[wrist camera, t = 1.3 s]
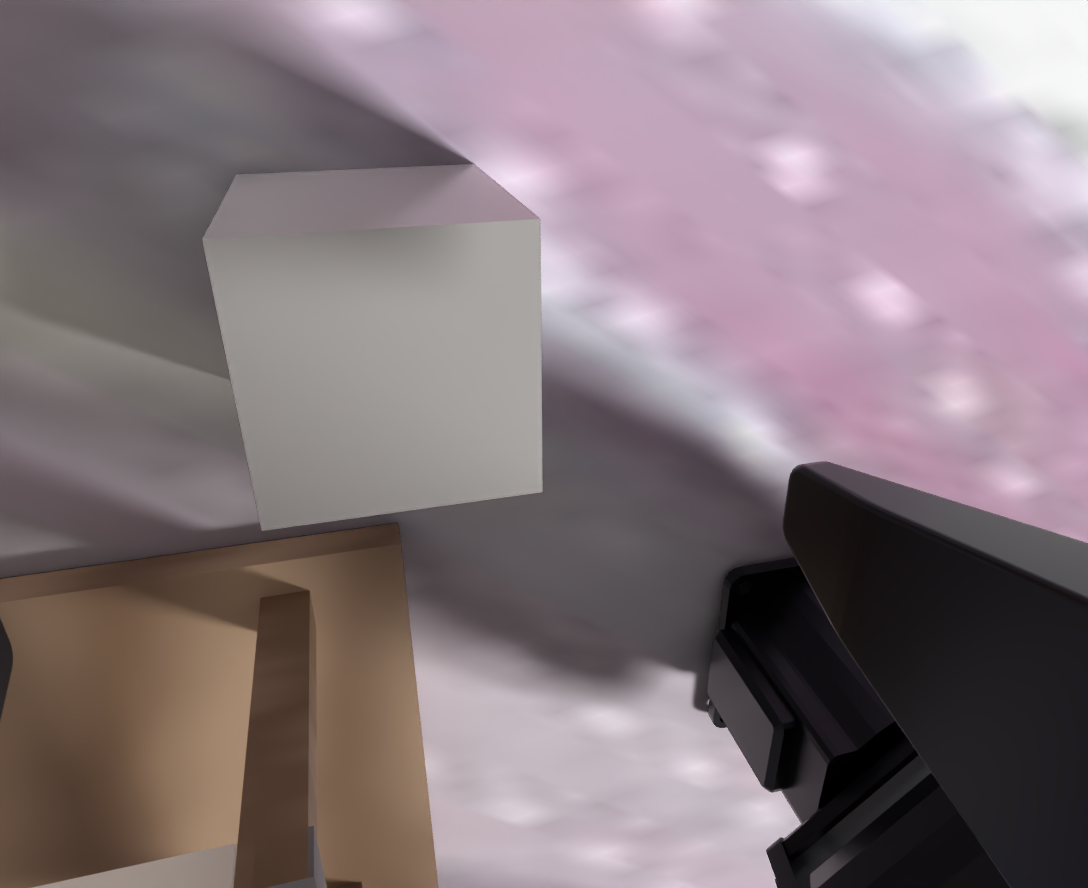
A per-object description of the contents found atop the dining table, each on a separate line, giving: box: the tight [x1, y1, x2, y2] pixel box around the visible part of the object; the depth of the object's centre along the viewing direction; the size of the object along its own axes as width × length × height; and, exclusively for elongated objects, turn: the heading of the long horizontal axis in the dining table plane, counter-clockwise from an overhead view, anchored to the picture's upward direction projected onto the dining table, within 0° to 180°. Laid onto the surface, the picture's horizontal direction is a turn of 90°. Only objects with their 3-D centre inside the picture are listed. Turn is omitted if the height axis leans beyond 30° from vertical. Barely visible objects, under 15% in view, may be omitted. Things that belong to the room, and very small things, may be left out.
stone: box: [202, 164, 543, 531], centre depth 16 cm, size 5×5×6 cm
